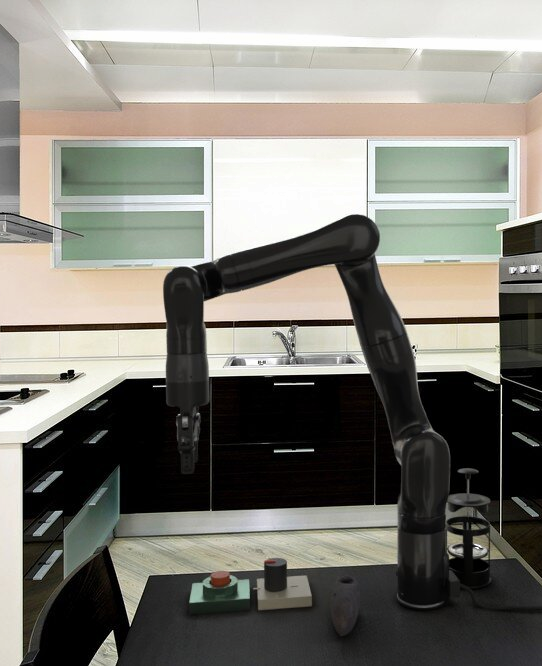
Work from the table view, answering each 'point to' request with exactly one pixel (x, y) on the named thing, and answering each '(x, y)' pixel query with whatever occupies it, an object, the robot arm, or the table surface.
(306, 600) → the control panel
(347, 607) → the perforated stone tool
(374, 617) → the table surface
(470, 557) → the french press
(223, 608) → the button box
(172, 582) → the table surface
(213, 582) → the button
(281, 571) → the dial
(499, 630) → the table surface
